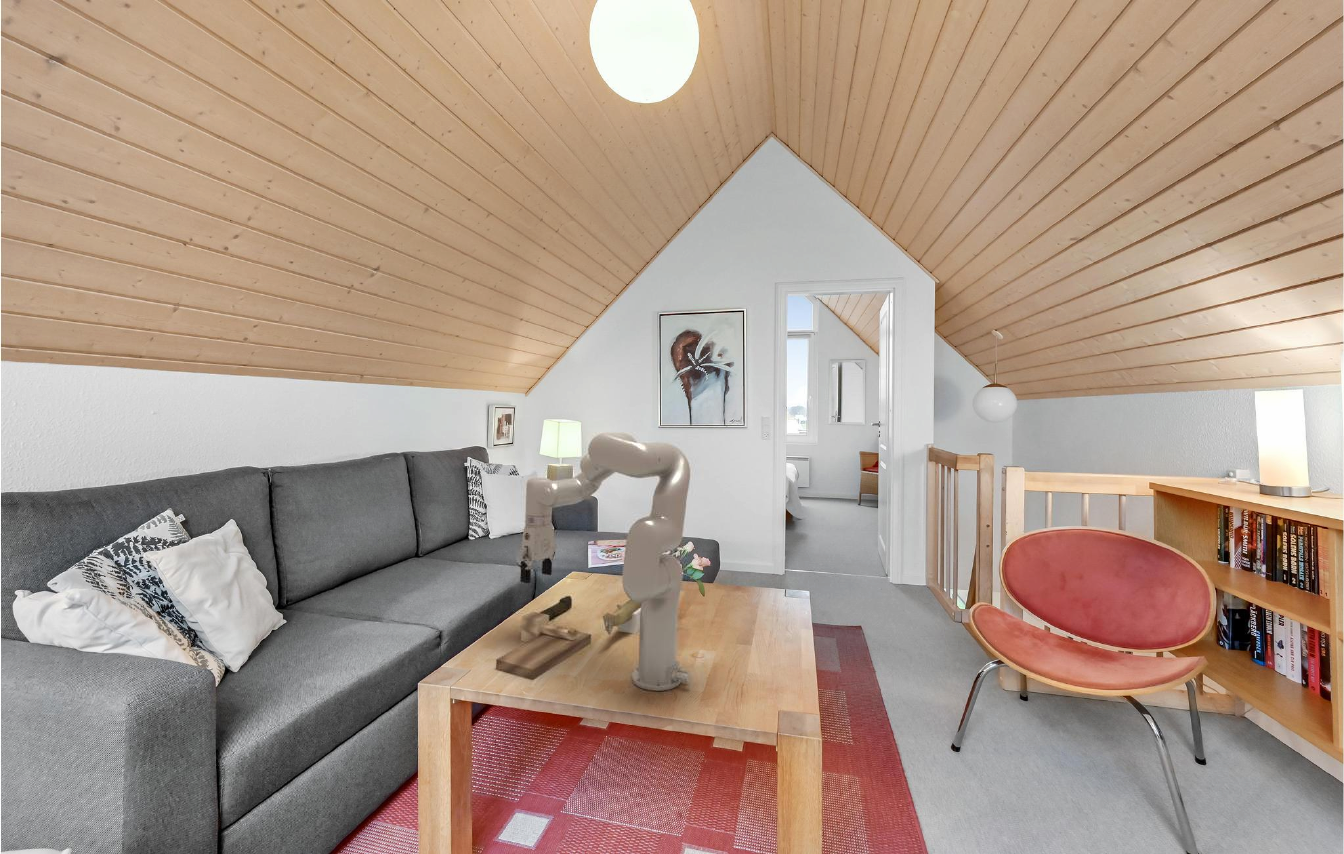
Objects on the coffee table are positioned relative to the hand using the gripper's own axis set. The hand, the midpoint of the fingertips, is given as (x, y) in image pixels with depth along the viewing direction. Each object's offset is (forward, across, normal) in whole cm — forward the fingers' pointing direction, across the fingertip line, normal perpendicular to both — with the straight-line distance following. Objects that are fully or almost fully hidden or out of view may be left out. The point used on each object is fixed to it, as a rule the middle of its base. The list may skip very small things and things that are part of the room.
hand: (536, 578), depth 161 cm
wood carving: (+18, +19, -21) cm, 34 cm away
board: (+18, -7, -10) cm, 22 cm away
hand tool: (+19, +19, +7) cm, 27 cm away
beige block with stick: (+18, 0, -6) cm, 19 cm away
